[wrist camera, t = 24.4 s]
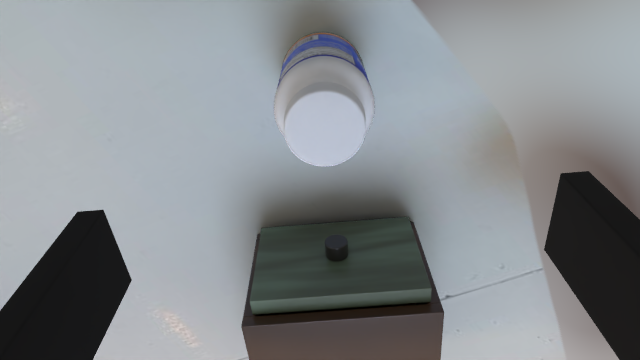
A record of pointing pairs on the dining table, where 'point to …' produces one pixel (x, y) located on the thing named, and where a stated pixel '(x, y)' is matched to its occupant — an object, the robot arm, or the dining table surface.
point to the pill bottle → (323, 100)
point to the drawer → (338, 267)
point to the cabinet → (347, 330)
